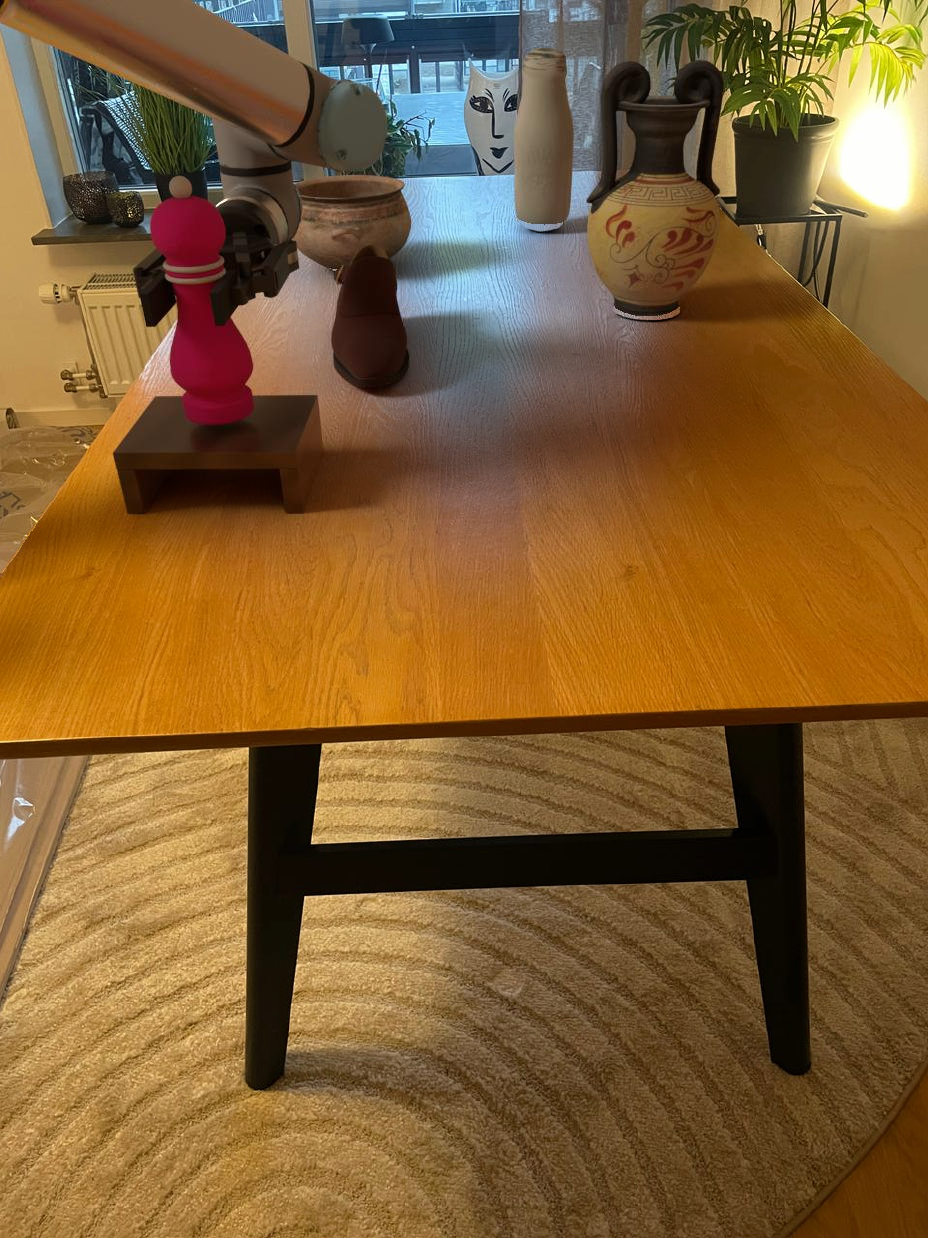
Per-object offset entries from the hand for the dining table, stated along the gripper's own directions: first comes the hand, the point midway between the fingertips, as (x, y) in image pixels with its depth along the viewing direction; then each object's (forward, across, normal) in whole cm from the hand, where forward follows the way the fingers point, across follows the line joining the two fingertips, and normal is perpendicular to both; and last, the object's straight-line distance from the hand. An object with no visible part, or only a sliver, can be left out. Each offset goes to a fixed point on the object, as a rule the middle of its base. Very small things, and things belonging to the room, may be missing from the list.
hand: (182, 309), depth 78 cm
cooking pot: (-79, -3, -18) cm, 81 cm away
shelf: (-5, 0, -18) cm, 19 cm away
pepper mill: (-5, 0, -11) cm, 12 cm away
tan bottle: (-103, -34, -18) cm, 110 cm away
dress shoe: (-39, -10, -18) cm, 44 cm away
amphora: (-56, -46, -18) cm, 75 cm away
